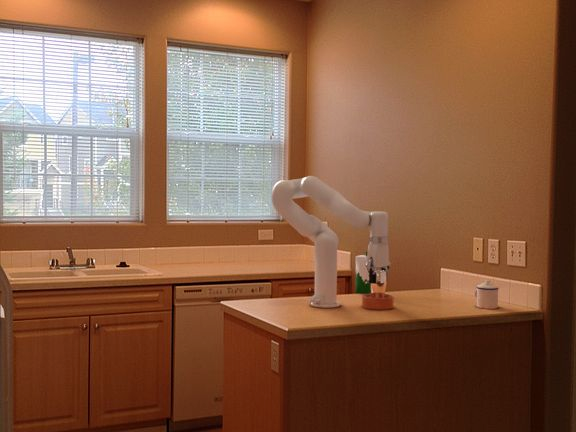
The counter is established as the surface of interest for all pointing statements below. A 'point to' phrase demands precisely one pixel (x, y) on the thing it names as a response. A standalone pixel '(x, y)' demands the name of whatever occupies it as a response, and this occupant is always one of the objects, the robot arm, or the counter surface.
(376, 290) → the beer glass
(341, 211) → the robot arm
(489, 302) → the teacup with lid
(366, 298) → the bowl
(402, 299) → the counter surface
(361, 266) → the milk carton
